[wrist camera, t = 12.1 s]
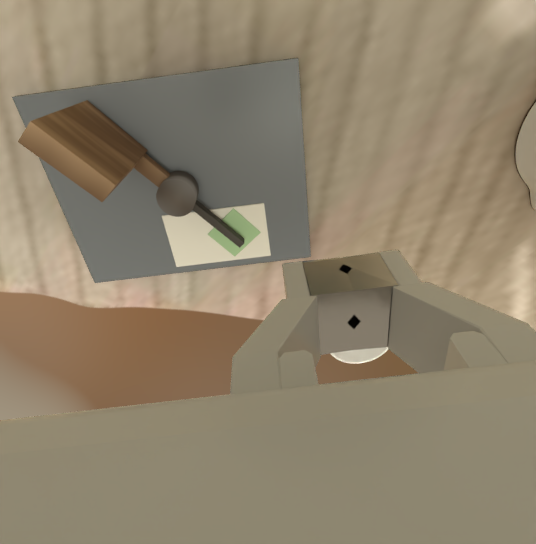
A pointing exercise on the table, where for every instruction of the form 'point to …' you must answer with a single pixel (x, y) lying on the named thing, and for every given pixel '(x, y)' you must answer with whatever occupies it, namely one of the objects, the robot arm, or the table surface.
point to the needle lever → (111, 161)
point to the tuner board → (193, 170)
